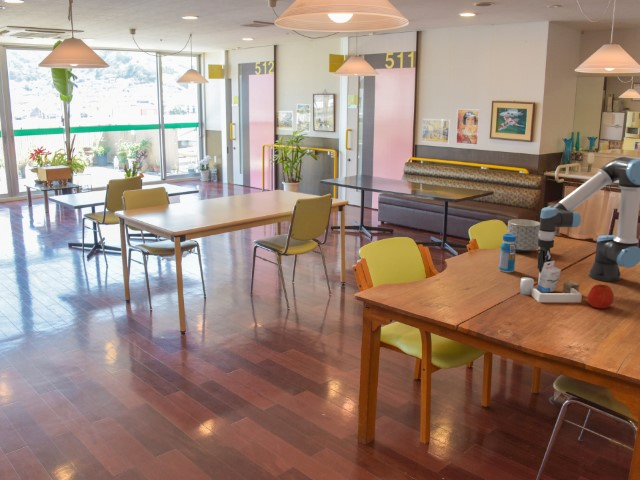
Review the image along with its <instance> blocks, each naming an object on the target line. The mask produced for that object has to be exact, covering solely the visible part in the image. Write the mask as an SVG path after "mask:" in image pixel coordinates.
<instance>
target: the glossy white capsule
mask: <svg viewBox="0 0 640 480" xmlns="http://www.w3.org/2000/svg"><path fill="white" fill-rule="evenodd" d="M534 281H535V279H534V278H531V277H526V276H525V277H521V278H520V285H519V286H520V287H519V294H521V295H523V296H524V295H525V296H526V295H527V296H532V288H534V284H535V282H534Z"/></svg>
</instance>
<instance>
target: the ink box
mask: <svg viewBox="0 0 640 480" xmlns="http://www.w3.org/2000/svg"><path fill="white" fill-rule="evenodd" d="M555 262H556V261H555V260H551V261H550V262H545V263H544V266H543V268H542V272H541V276H540V279H539V278H538V279H539V283H538V282H537V288H536V289H537V290H538V291H539V292H540V293H551V292H552V293H553V292H555V291H556V288H557V285H558V281H559V278H560V274H561V272H562V269H560V268H558V267H556V266H555ZM549 263H550V265H547V264H549Z"/></svg>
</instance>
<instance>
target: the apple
mask: <svg viewBox="0 0 640 480" xmlns="http://www.w3.org/2000/svg"><path fill="white" fill-rule="evenodd" d="M614 297H615V296H614V292H613V290H612V288H611V287H610V286H609V285H607V284H599V283H598V284H595V285H594V286H592V287H591V289H590V290H589V293H588V295H587V302H588V304H589V306H590V307H592V308H595V309H607V308H609V307H611V306H612V304H613V302H614V300H615V298H614Z"/></svg>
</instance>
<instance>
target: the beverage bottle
mask: <svg viewBox="0 0 640 480" xmlns="http://www.w3.org/2000/svg"><path fill="white" fill-rule="evenodd" d="M515 241H516V236H515V235H513V234H507V233H505V234H503V235H502V243H501V245H500V250H499V264H498V270H499V271H500V272H503V273H513V272H515V267H516V266H515V265H516V264H515V263H516V255H517V252H516V245H515V243H514V242H515Z"/></svg>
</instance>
